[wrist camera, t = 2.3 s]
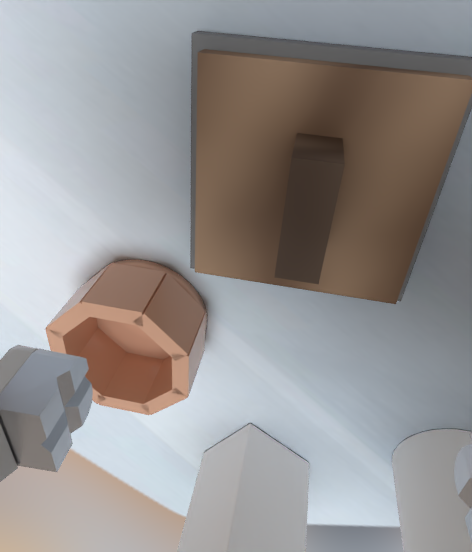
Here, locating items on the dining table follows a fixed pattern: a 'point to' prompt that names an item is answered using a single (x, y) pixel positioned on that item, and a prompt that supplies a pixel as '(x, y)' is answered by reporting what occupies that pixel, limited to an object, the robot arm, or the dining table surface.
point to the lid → (318, 169)
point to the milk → (248, 497)
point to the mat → (330, 54)
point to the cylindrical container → (431, 492)
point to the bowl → (134, 335)
